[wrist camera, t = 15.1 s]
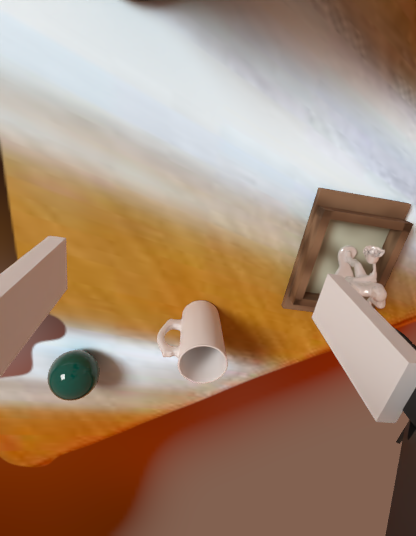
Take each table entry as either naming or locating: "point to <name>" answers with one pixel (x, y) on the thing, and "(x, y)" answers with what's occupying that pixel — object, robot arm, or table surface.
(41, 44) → the table surface
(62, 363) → the sphere
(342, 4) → the table surface
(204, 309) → the mug
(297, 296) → the brown picture frame
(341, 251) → the figurine
